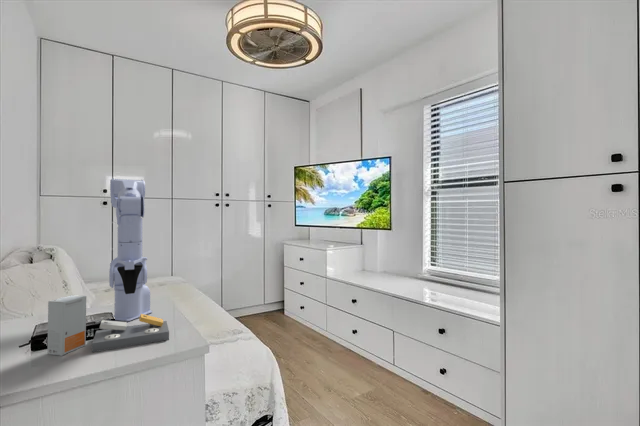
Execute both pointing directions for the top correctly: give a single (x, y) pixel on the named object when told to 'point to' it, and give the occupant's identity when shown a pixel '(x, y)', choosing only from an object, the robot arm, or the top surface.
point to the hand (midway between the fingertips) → (130, 293)
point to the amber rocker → (151, 320)
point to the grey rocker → (113, 325)
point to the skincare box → (66, 324)
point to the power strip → (129, 336)
